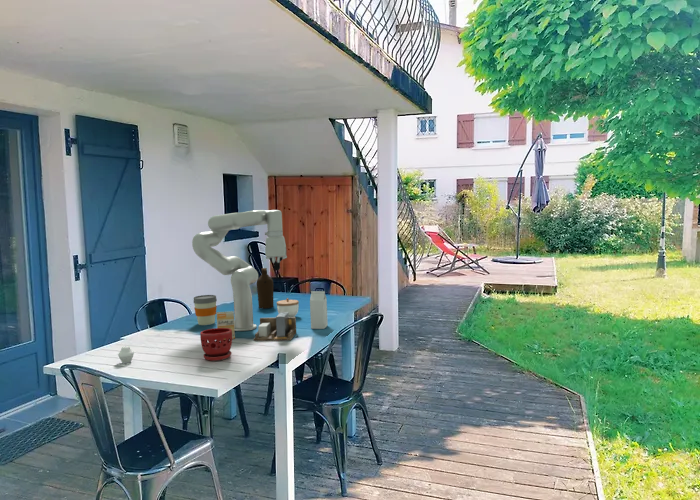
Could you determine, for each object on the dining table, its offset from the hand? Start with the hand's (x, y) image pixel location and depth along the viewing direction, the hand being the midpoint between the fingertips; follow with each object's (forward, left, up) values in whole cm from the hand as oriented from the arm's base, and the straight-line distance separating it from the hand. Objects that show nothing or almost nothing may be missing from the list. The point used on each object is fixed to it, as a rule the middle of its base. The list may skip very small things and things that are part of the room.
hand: (277, 270), depth 262 cm
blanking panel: (+5, -14, -30) cm, 34 cm away
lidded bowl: (-2, +30, -31) cm, 43 cm away
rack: (+1, -14, -31) cm, 34 cm away
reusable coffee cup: (-46, +18, -31) cm, 58 cm away
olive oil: (-23, +61, -31) cm, 72 cm away
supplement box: (-23, -16, -31) cm, 42 cm away
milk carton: (+20, +4, -31) cm, 37 cm away
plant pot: (-16, -48, -31) cm, 60 cm away
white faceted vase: (-54, -53, -31) cm, 82 cm away
